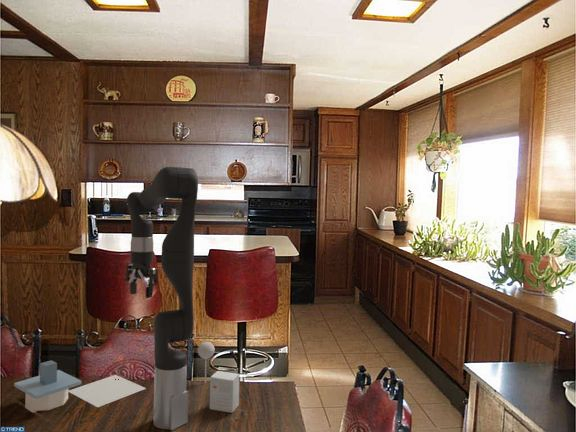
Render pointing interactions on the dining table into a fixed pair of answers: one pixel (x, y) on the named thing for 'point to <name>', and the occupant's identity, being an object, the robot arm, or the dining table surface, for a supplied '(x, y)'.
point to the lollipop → (206, 352)
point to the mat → (106, 390)
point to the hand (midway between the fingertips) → (140, 295)
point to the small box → (224, 391)
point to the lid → (47, 381)
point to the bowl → (46, 401)
